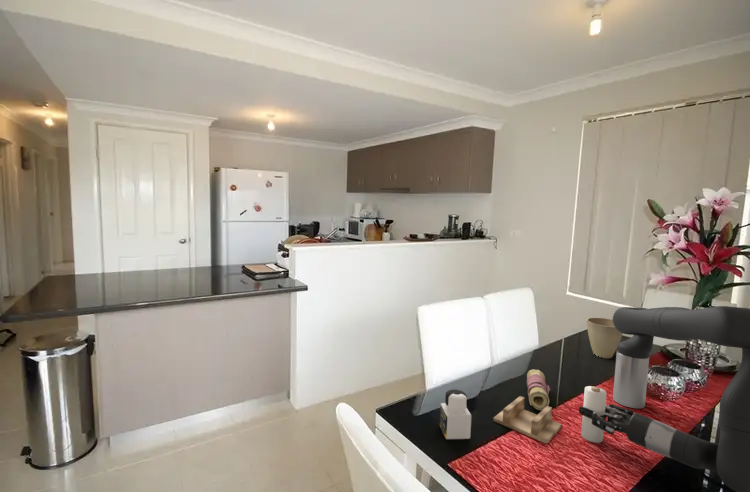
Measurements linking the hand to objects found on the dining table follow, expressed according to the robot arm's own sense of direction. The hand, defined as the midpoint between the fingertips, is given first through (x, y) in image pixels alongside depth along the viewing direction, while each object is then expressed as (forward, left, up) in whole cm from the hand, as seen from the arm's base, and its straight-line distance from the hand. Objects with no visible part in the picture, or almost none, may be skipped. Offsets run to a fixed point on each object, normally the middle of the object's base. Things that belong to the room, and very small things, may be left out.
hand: (584, 406), depth 110 cm
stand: (+7, -13, -8) cm, 17 cm away
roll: (0, +3, -8) cm, 8 cm away
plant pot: (-77, -12, -8) cm, 78 cm away
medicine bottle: (+27, -26, -8) cm, 39 cm away
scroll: (-12, -17, -8) cm, 23 cm away
